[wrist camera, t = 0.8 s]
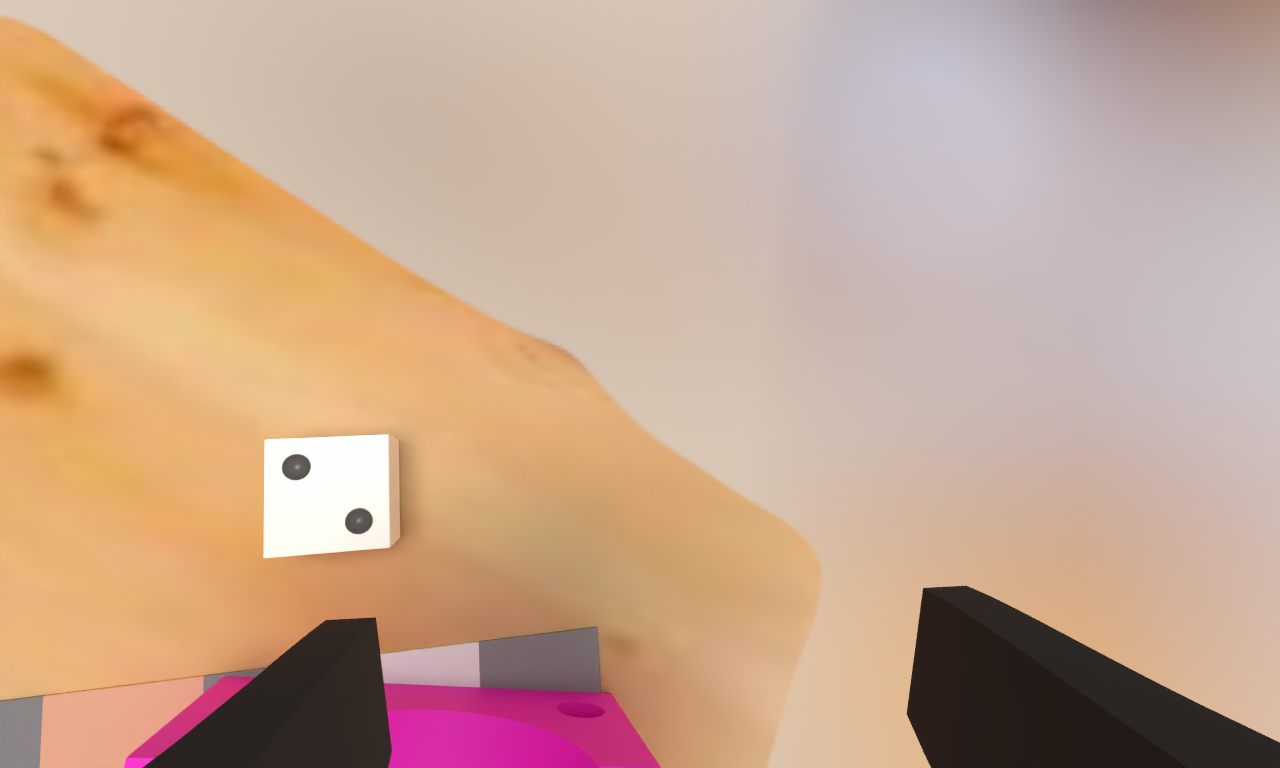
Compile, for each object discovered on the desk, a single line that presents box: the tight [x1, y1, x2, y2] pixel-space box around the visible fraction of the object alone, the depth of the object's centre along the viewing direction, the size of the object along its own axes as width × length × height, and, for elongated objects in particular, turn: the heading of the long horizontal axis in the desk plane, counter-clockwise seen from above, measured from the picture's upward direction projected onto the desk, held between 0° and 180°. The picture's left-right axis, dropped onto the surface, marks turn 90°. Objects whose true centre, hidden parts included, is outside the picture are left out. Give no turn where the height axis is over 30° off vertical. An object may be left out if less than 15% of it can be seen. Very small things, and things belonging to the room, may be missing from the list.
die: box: [264, 434, 400, 558], centre depth 25 cm, size 4×4×4 cm
